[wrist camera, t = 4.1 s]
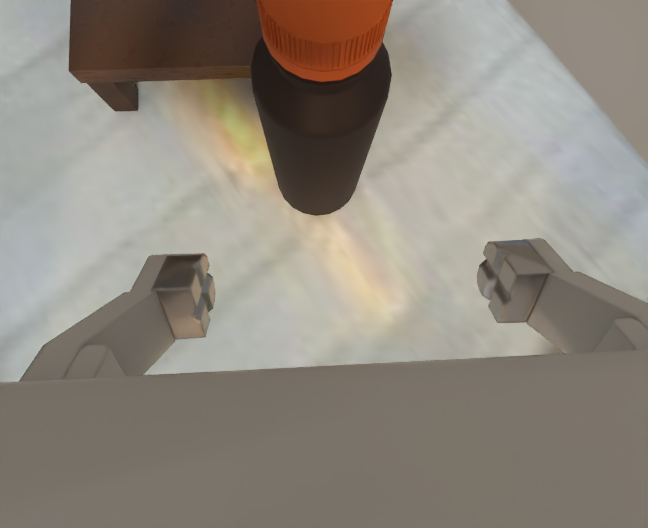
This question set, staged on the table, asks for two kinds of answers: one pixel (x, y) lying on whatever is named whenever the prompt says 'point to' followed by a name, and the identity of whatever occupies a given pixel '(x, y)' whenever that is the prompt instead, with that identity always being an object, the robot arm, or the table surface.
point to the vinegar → (320, 94)
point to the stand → (159, 43)
